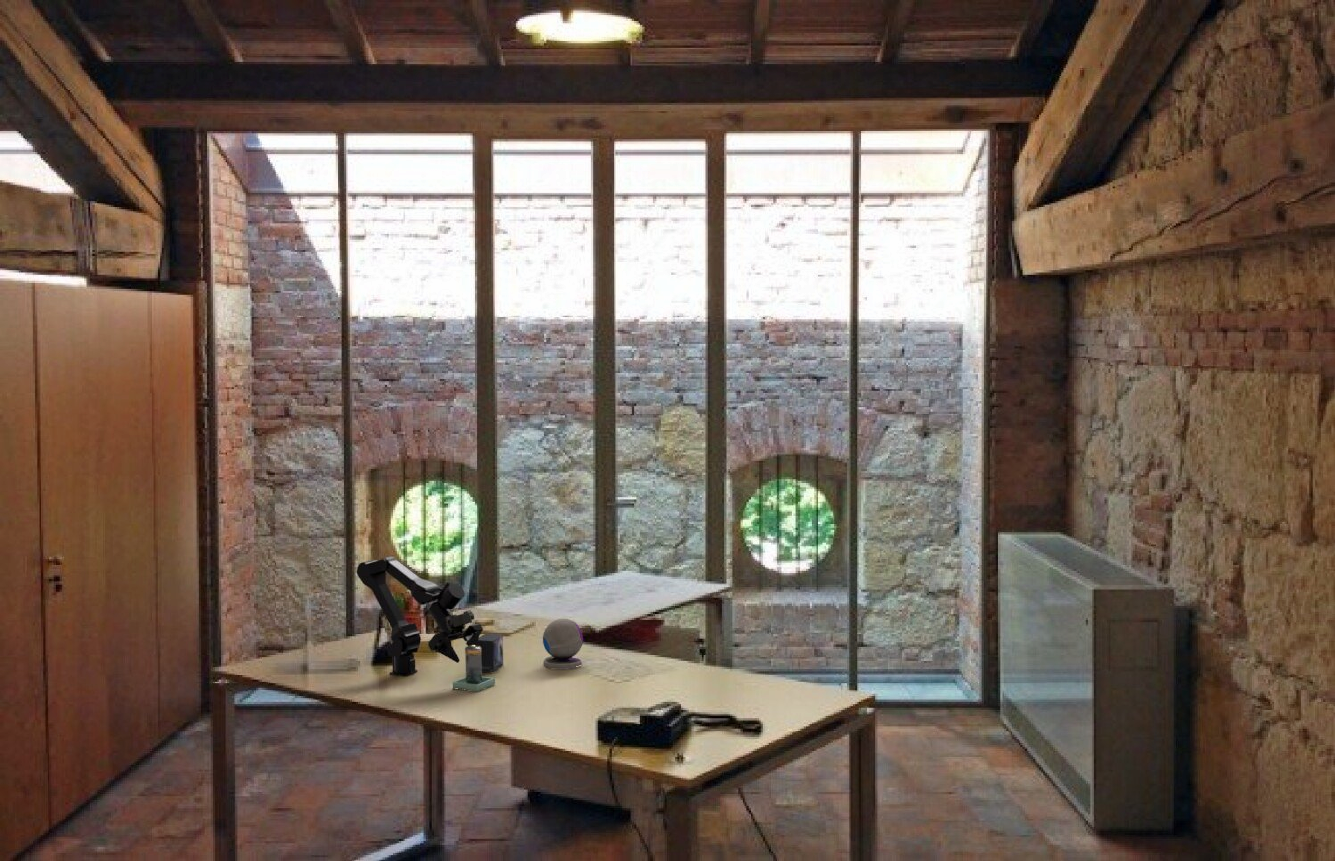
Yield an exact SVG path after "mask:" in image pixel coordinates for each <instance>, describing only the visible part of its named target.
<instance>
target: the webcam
mask: <svg viewBox="0 0 1335 861" xmlns="http://www.w3.org/2000/svg"><path fill="white" fill-rule="evenodd" d="M583 643H584V637H583V633H582V630H581V628H580V626H579V625H578V624H577V623H576V622H575V621H574V620H573V619H569V618H558V619H555V620H553V621H551V622H550V623H549V624H548V625H547V626H546V628H544V631H543V633H542V644H543V647H544V649H545V651H546V652H547V653H548V654H549V655H550V656H548V657H545V658H544V659H543V667H545V666H546V667H548V668H547V669H550V668H555V669H554V670H567V669H566V668H573V667H576V666H579V665H581V664H582V663H583V662H582V659H580V658H576V657H575V656H576V655H577V654H578V653H579V652H580V651H581V648H582V647H583ZM582 665H583V664H582ZM546 667H545V668H546ZM573 669H574V668H573Z"/></svg>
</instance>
